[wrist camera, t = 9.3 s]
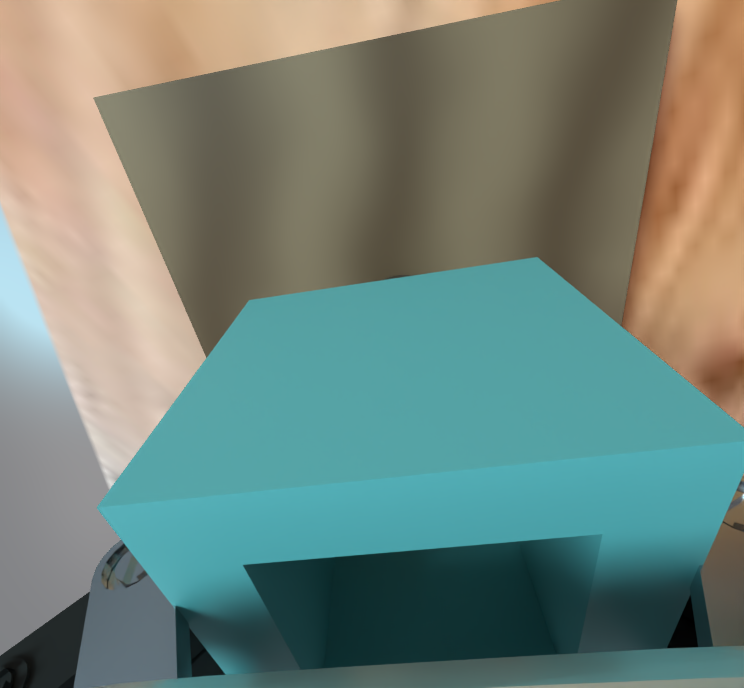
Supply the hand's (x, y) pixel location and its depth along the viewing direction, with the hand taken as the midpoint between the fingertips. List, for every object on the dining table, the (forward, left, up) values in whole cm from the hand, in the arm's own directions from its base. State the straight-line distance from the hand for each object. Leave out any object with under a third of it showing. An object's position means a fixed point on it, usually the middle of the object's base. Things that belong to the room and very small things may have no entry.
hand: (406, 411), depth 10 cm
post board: (0, 0, -8) cm, 8 cm away
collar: (0, 0, -1) cm, 1 cm away
